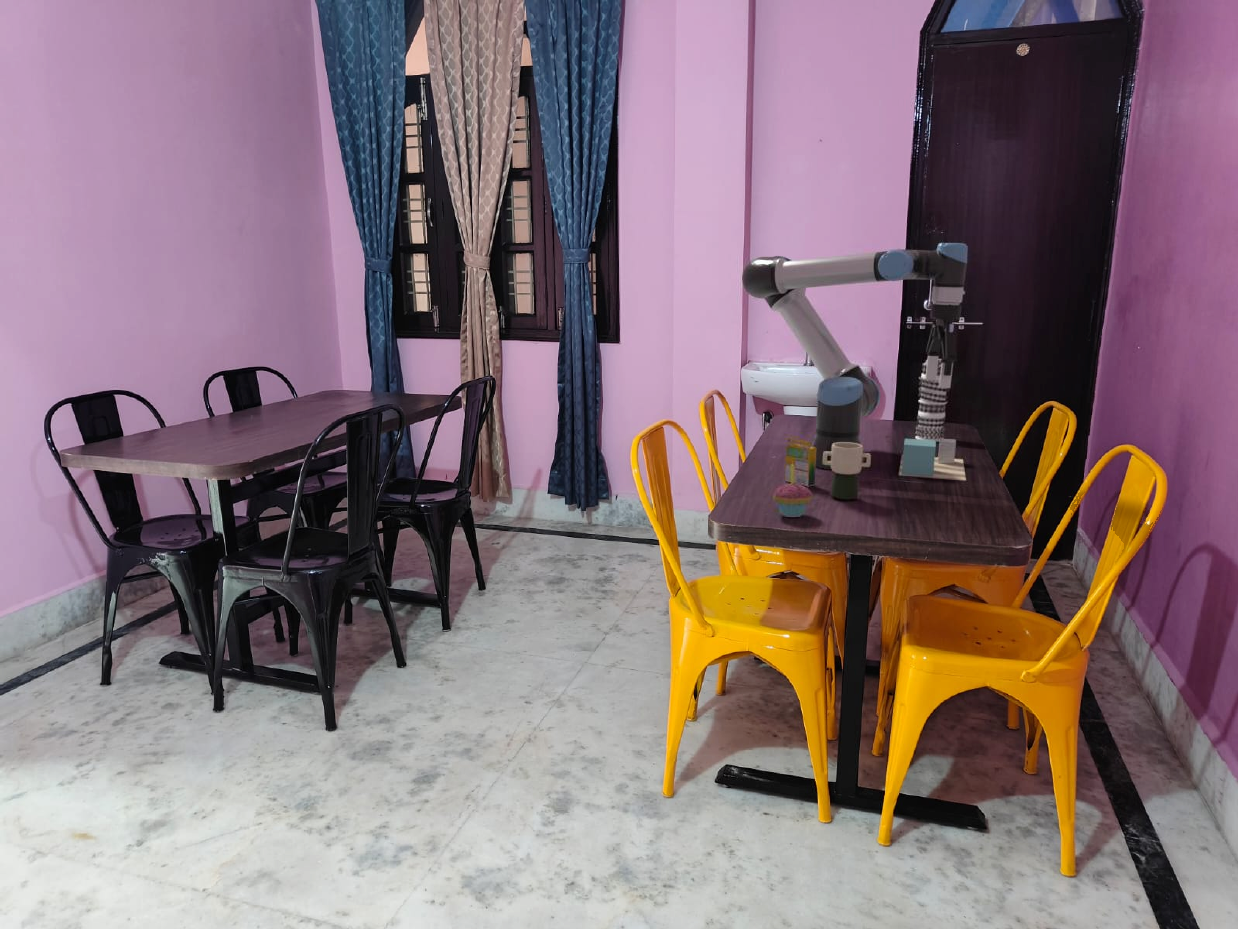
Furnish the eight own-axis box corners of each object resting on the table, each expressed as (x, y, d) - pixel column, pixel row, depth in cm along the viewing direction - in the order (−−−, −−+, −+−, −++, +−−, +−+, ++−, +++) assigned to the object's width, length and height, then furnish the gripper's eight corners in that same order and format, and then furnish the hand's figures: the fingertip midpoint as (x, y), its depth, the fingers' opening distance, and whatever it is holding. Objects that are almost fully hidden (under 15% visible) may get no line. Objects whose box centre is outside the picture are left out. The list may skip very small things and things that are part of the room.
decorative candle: (913, 435, 271) (920, 357, 265) (944, 437, 268) (952, 358, 262) (913, 440, 263) (920, 360, 257) (945, 442, 260) (952, 361, 254)
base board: (965, 486, 211) (965, 480, 211) (898, 480, 216) (898, 475, 216) (962, 464, 233) (962, 459, 232) (901, 460, 238) (901, 454, 238)
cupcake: (768, 510, 192) (770, 458, 189) (805, 509, 192) (808, 458, 189) (778, 521, 183) (780, 468, 180) (816, 520, 184) (819, 467, 181)
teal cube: (933, 476, 214) (935, 446, 212) (901, 474, 217) (903, 444, 215) (933, 469, 221) (935, 440, 219) (902, 467, 224) (904, 438, 222)
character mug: (867, 495, 203) (870, 442, 200) (868, 504, 196) (872, 449, 193) (820, 493, 205) (823, 440, 202) (820, 501, 199) (823, 447, 195)
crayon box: (815, 485, 212) (817, 440, 209) (807, 487, 210) (810, 442, 207) (791, 479, 217) (793, 435, 215) (784, 481, 215) (786, 437, 213)
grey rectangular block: (953, 464, 227) (955, 442, 225) (937, 463, 228) (939, 441, 227) (953, 461, 231) (955, 439, 229) (937, 459, 232) (939, 438, 230)
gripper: (976, 307, 210) (965, 391, 215) (947, 300, 234) (938, 376, 239) (945, 306, 210) (935, 390, 216) (919, 300, 234) (911, 376, 240)
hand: (937, 383), depth 227 cm, fingers open, 13 cm apart
